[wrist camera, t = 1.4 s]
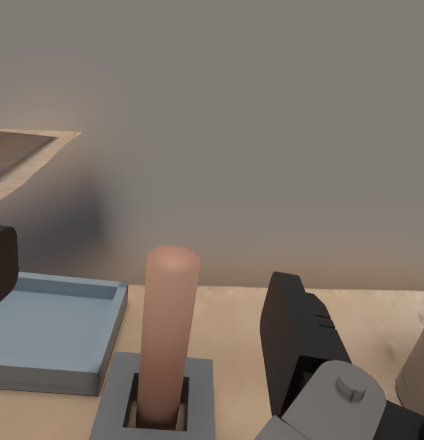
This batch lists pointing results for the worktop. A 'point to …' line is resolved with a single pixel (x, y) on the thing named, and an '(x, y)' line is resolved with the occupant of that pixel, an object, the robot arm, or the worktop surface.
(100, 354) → the tray
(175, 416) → the dowel
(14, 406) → the worktop surface
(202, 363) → the socket block
